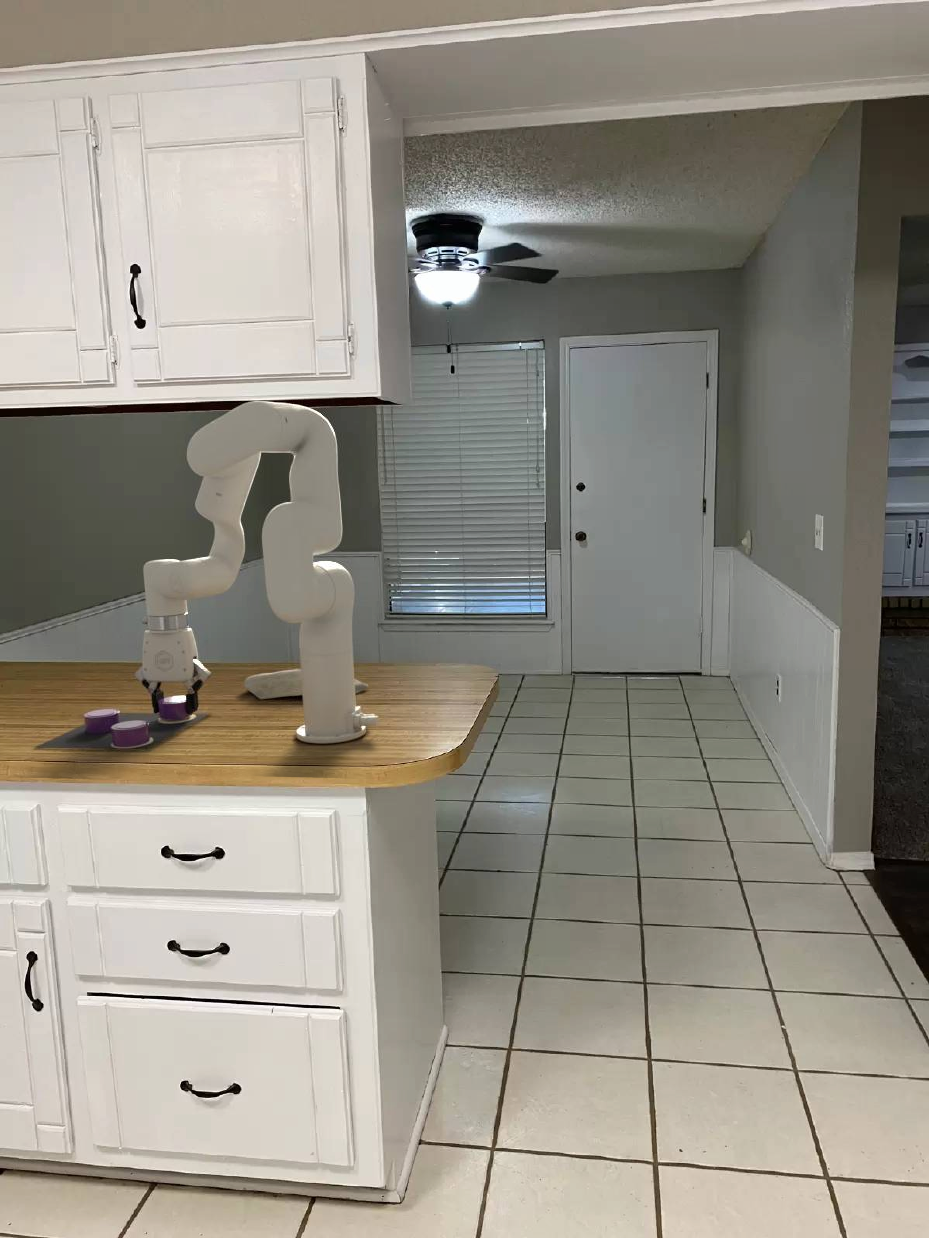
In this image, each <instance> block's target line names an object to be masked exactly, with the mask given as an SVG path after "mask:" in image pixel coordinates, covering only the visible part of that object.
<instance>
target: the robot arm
mask: <svg viewBox="0 0 929 1238" xmlns="http://www.w3.org/2000/svg"><path fill="white" fill-rule="evenodd" d="M337 441H338V440H337V437H336V433H335V431H334V428H333V427H332V425H331V423H330V422H329V420H328V419H327V418H326V417H325V416H323V415H322V414H321V413H320V412H318V411H317V410H314V409H313V408H311V407H307V406H303V405H300V404H294V403H293V404H292V403H287V402H274V401H263V400H262V401H261V400H254V401H248V402H245V403H242V404H240V405H238V406H236V407H235V408H232V410H229V411H228V412H226V413H224V414H223V415H221V416H219V417H218V418H216V419H214V420H212V421H211V422H209V423H207V424H205V425H204V426H203V427H201V428H200V429H199V430H197V431H196V432H194V434H193V435H192V437H191V439H190V440H189V442H188V444H187V448H186V460H187V463H188V465H189V467H190V469H191V470H192V471H193V472H194V473H195V474H196V475H199V476H200V477H202V480H201V484H200V486H199V489H198V493H197V496H196V499H195V502H194V507H195V509H196V511H197V513H198V514H199V515H200V516H202V517H203V518H204V519H207V520H208V521H210V522H212V524H213V527H214V537H213V542H212V546H211V548H210V551H209V554H208V556H205V557H197V558H192V559H186V560H178V559H171V558H170V559H169V558H167V559H154V560H149V561H147V562H146V563H145V564H144V565H143V568H142V571H143V582H144V583H143V584H144V592H145V593H144V594H145V595H144V596H145V605H146V616H143V617H142V618H141V619H142V620H141V622H142V624H143V625H147V630H145V631H144V634H143V639H142V640H143V641H142V665H141V666H140V667H139V668H138V669H137V671H136V672H135V673H134V677H135V678H136V679H137V680H139V682H140V683H141V684H142V686H143V687H144V688H145V689H147V692H148V693H149V694H150V697H151V707H152V709H153V713H159V708H158V701H159V700H160V699H163V698H165V692H164V690H162V689H161V688H162V686H163V683H183V685H184V687H185V689H186V691H187V693H186V694H185V696H186V707H187V713H188V714H192V713H193V714H195V712H197V711H198V709H199V693H198V692H199V691H200V690H201V688H202V687H203V686H204V685H205V683H206V682H207V681H208V679H209V678H210V677H211V676H212V673H211V671H209V670H208V669H207V668H206V667H205V666H204V665H203V664H202V663H201V662H200V659H199V658H200V657H199V653H198V652H199V651H198V646H197V641H196V638H195V635H194V631H193V628H191V627H190V624H189V614H188V605H187V604H188V601H193V600H197V599H203V598H205V597H206V598H207V597H211V596H216V595H220V594H223V593H226V592H227V591H229V589H230V588H231V587H232V586H233V585H234V583H235V581H236V579H237V577H238V574H239V571H240V569H241V566H242V563H243V560H244V557H245V552H246V541H245V532H244V528H243V525H242V522H241V518H242V514H243V511H244V508H245V505H246V502H247V500H248V496H249V493H250V490H251V487H252V484H253V482H254V478H255V476H256V473H257V470H258V468H259V464H260V460H261V455H262V453H290V454H292V455H293V460H292V463H291V465H290V470H289V478H288V479H289V480H288V482H289V490H290V501H289V502H287V501H286V502H283V503H280V504H278V505H276V506H274V507H273V508H272V509H271V510H270V511H269V512H268V513H267V515H266V517H265V520H264V522H263V525H262V531H261V545H262V556H263V557H262V558H263V569H264V581H265V590H266V596H267V600H268V604H269V606H270V608H271V611H272V612H273V613H274V615H275V616H276V617H277V618H278V619H280V620H281V621H283V622H285V623H290V624H298V623H300V628H299V637H298V647H299V665H300V669H301V680H302V695H301V696H302V707H303V721H304V725H301V726H300V727H298V728H297V729H296V732H295V733H296V734H295V735H296V739H297V740H299V741H301V742H304V743H309V744H321V745H322V744H336V743H337V744H338V743H344V742H349V741H353V740H356V739H358V738H360V737H363V736H364V735H365V734H366V732H367V727H368V728H378V727H379V724H380V717H379V716H378V715H376V714H375V713H368V714H365V713H363V712H362V706H357V699H356V697H357V696H356V693H355V680H354V679H355V665H354V644H353V643H354V642H353V614H354V605H355V592H356V591H355V583H354V580H353V578H352V576H351V574H350V572H349V571H348V569H346V568H345V567H344V566H343V565H341V564H339V563H337V562H333V561H329V560H328V561H327V560H325V561H324V560H323V561H316V562H315V561H314V556H318V555H323V554H327V553H330V552H332V551H334V550H336V549H337V548H338V547H339V545H340V544H341V542H342V537H343V522H342V521H343V520H342V506H341V492H340V483H339V473H338V472H339V470H338V469H339V468H338V467H339V466H338V443H337ZM197 676H199V677H198V679H196V677H197Z"/></svg>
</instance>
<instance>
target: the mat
mask: <svg viewBox="0 0 929 1238" xmlns="http://www.w3.org/2000/svg"><path fill="white" fill-rule="evenodd" d="M209 715H210V714H209V713H193V714H192V715H191V716H189V717H185V718H181V719H171V720H168V719H161V718H160V717H159V713H154V712H153V713H152V712H150V713H149V712H120V722H126V721H135V720H142V721H147V722H148V723H149V732H150V741H149V742H147V743H145V744H142V745H138V746H132V747H116V746H114V745H113V742H112V732H108V733H101V734H90V733H86V732H85V724H82V725H81V726H78V727H77V728H74V729H72V730H69V731H67V732H65V733H63V734H61V735H59V736H57V737H54V738H52V739H50V740H48V741H46V742H43V743H42V744H39V745H37V746H36V748H38V749H39V748H41V749H42V748H43V749H44V748H46V749H48V748H49V749H91V750H92V749H93V750H95V749H98V750H99V749H100V750H143V751H144V750H149V749H150V748H152V747H154V746H156V745H157V744H159V743H161V742H163V741H165V740H166V739H168V738H170V737H171V736H174V735H175V734H176V733H179V732H180V731H182V730H184V729H185V728H187V727H189V726H191V725H192V724H195V723H196V722H199V721H200V720H202V719H204V718H205V717H207V716H209Z"/></svg>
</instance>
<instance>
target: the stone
mask: <svg viewBox="0 0 929 1238" xmlns="http://www.w3.org/2000/svg"><path fill="white" fill-rule="evenodd" d="M354 680H355V694H359V693H361V692H363V691H365V690H366V689H368V688H369V685H368V683H365V682H362V681H359V680H357V679H356V678H354ZM242 687H244V688H245V689H246V690H248V691H249V692H250V693H252V694H253V695H254V696H256V698H258V699H259V700H266V699H275V698H282V697H290V696H291V697H295V696H303V695H302V680H301V668H298V669H287V670H281V671H280V670H279V671H274V672H265V673H258V674H255V675H251V676H248V677H246V678H245V679H244V681H243V685H242Z"/></svg>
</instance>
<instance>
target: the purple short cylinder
mask: <svg viewBox="0 0 929 1238" xmlns="http://www.w3.org/2000/svg"><path fill="white" fill-rule="evenodd" d="M111 732H112V742H113V745H114V746H116V747H132V746H138V745H142V744H145V743H147V742H149V741H150V732H149V723H148V722H147V721H142V720H135V721H126V722H121V723H118V724H115V725H113V726H112V727H111Z"/></svg>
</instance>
